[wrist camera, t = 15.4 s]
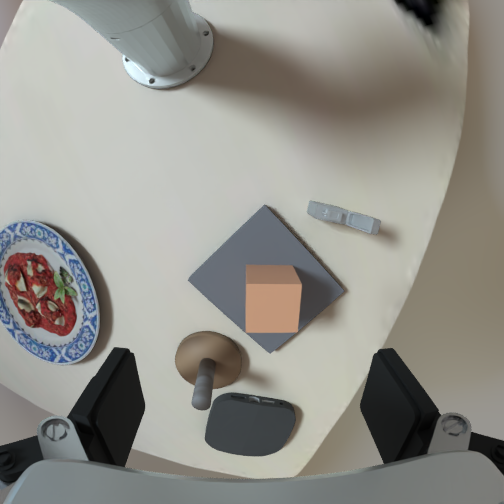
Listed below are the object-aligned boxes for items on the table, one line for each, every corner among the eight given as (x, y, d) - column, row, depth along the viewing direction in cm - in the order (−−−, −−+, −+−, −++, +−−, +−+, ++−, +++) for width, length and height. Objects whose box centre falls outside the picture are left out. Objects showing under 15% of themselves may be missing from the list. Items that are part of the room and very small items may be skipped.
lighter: (306, 213, 40) (321, 223, 32) (309, 200, 39) (324, 207, 32) (355, 223, 40) (379, 235, 32) (358, 211, 40) (383, 221, 32)
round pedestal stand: (164, 356, 45) (147, 399, 35) (206, 318, 43) (196, 359, 33) (211, 392, 47) (204, 438, 37) (254, 359, 45) (257, 405, 35)
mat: (189, 276, 41) (187, 280, 40) (264, 204, 39) (265, 205, 38) (269, 348, 45) (270, 353, 43) (341, 287, 42) (344, 291, 41)
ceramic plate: (17, 352, 45) (9, 359, 42) (-18, 226, 39) (-28, 230, 36) (121, 363, 45) (115, 373, 43) (88, 207, 39) (78, 210, 36)
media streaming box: (202, 438, 50) (201, 449, 48) (216, 386, 47) (214, 398, 44) (275, 449, 52) (276, 460, 49) (300, 400, 48) (302, 411, 45)
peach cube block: (246, 264, 40) (246, 283, 33) (292, 265, 40) (301, 284, 33) (245, 307, 41) (245, 332, 34) (289, 307, 41) (297, 332, 35)
